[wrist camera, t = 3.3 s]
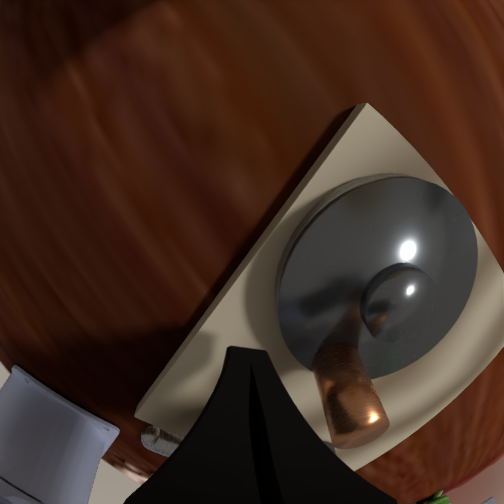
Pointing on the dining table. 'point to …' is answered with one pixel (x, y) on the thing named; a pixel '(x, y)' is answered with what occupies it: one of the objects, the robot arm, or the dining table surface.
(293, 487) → the robot arm
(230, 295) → the board
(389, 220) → the handwheel
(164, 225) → the dining table surface
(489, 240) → the dining table surface
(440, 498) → the turtle holder
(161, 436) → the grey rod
